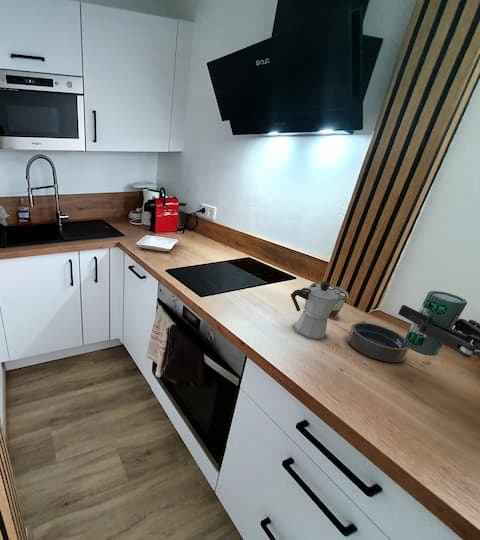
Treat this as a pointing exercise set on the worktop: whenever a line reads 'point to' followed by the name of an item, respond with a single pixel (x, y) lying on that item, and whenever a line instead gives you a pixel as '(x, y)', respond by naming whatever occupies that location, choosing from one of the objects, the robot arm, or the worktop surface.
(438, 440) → the worktop surface
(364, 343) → the basin
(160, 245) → the plate
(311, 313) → the coffee maker
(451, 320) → the can
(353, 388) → the worktop surface
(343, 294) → the food container
